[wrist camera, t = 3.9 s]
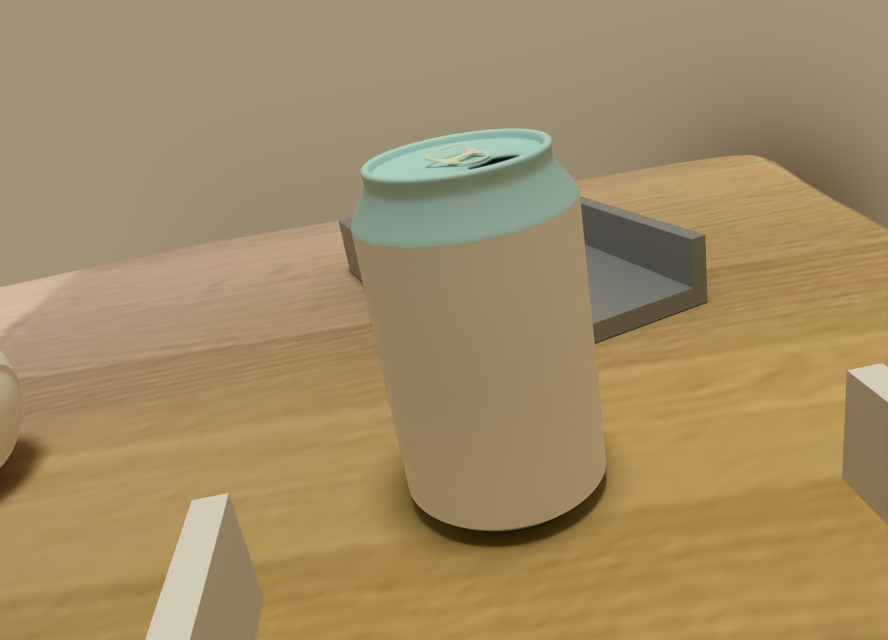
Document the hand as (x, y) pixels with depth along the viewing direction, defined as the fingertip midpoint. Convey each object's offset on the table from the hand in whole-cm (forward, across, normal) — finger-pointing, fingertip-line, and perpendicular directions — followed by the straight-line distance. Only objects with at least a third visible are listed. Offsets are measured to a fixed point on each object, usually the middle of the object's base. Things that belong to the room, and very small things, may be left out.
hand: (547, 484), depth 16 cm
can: (+10, 0, -7) cm, 12 cm away
